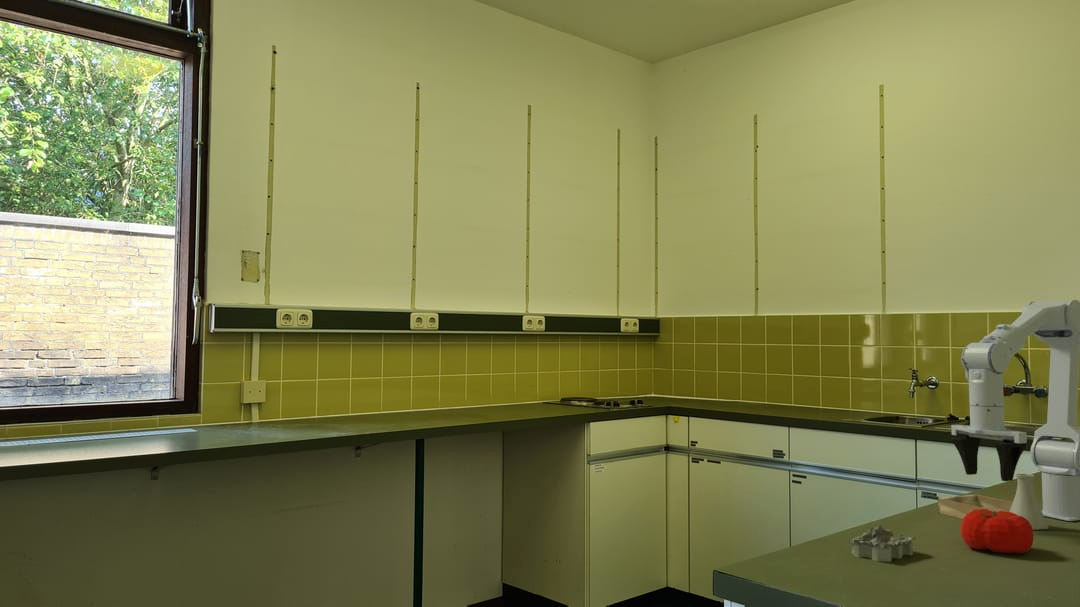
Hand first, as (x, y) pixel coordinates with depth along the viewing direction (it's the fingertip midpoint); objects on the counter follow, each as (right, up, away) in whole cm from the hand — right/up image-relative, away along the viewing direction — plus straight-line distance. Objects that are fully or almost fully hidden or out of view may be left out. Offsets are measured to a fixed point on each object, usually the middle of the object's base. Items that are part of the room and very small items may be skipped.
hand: (988, 477), depth 152 cm
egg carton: (-27, -10, -16) cm, 33 cm away
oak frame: (+5, -11, +12) cm, 17 cm away
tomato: (-7, -10, -14) cm, 18 cm away
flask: (+9, -10, +3) cm, 14 cm away
